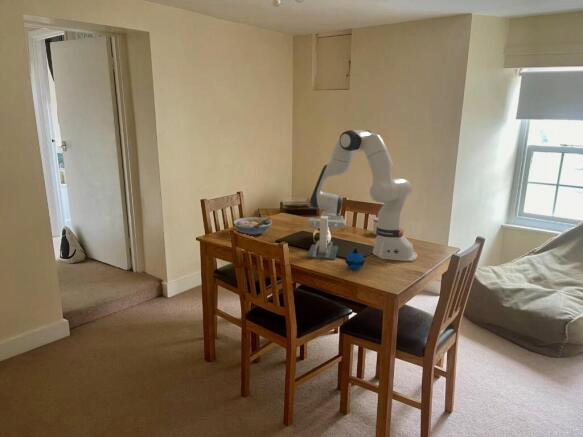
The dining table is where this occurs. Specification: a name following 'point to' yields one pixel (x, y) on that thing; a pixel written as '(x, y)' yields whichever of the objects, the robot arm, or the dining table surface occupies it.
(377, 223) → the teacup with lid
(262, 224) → the ramen bowl
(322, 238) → the white rectangular block
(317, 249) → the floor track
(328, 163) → the robot arm
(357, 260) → the ornament
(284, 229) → the dining table surface
